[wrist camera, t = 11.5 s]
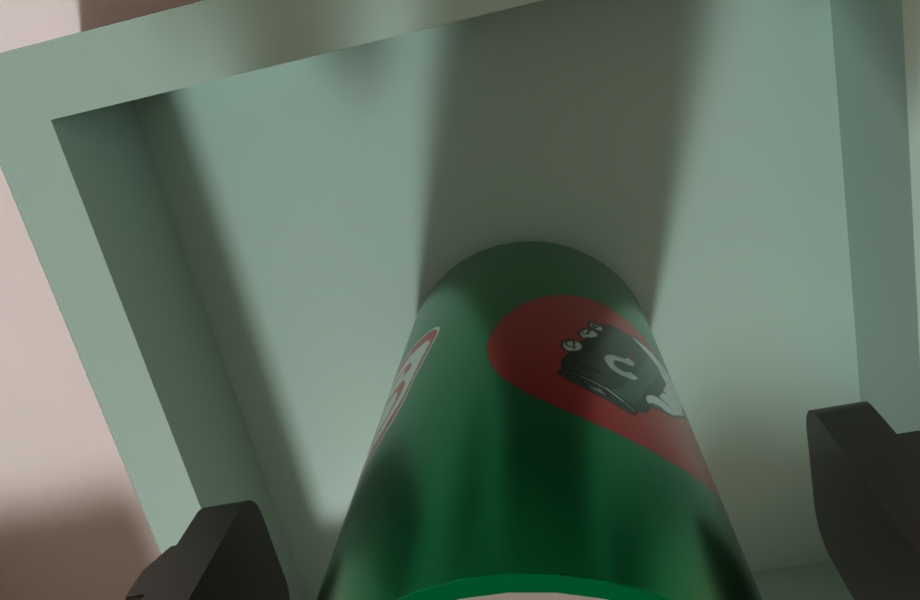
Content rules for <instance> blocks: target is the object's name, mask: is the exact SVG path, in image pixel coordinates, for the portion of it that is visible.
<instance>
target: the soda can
mask: <svg viewBox="0 0 920 600" xmlns="http://www.w3.org/2000/svg"><path fill="white" fill-rule="evenodd" d="M316 600H763V599H762V597H761V595H760V592H759V590H758V587H757V585H756V583H755V580H754V578H753V575H752V573H751V570H750V568H749V566H748V563H747V561H746V558H745V556H744V554H743V551H742V549H741V546H740V544H739V541H738V539H737V537H736V534H735V532H734V529H733V527H732V525H731V522H730V520H729V517H728V515H727V512H726V510H725V508H724V505H723V503H722V500H721V498H720V496H719V493H718V491H717V488H716V486H715V483H714V481H713V479H712V476H711V474H710V471H709V469H708V467H707V464H706V462H705V459H704V457H703V455H702V452H701V450H700V447H699V445H698V442H697V440H696V438H695V435H694V433H693V430H692V428H691V426H690V423H689V421H688V418H687V416H686V413H685V411H684V409H683V406H682V404H681V401H680V399H679V397H678V394H677V392H676V389H675V387H674V384H673V382H672V380H671V377H670V375H669V372H668V370H667V368H666V365H665V363H664V360H663V358H662V355H661V353H660V351H659V348H658V346H657V343H656V341H655V339H654V336H653V334H652V331H651V329H650V326H649V324H648V322H647V319H646V317H645V314H644V312H643V310H642V308H641V306H640V304H639V303H638V301H637V299H636V297H635V295H634V294H633V293H632V291H631V290H630V289H629V287H628V286H627V285H626V284H625V282H624V281H623V280H622V279H621V278H620V277H619V276H618V275H617V274H616V273H614V272H613V271H612V270H611V269H610V268H609V267H607V266H606V265H604V264H603V263H601V262H600V261H598V260H597V259H595V258H594V257H592V256H590V255H588V254H585V253H583V252H581V251H579V250H577V249H574V248H570V247H567V246H563V245H559V244H556V243H548V242H539V241H526V242H513V243H507V244H502V245H497V246H494V247H491V248H488V249H486V250H483V251H480V252H477V253H476V254H474V255H472V256H470V257H468V258H466V259H465V260H463V261H461V262H460V263H458V264H457V265H456V266H454V267H453V268H452V269H451V270H449V271H448V272H447V273H446V274H445V275H444V276H443V277H442V278H441V279H440V280H439V281H438V282H437V283H436V284H435V285H434V286H433V288H432V289H431V291H430V292H429V294H428V295H427V297H426V298H425V300H424V301H423V303H422V306H421V308H420V310H419V312H418V314H417V317H416V319H415V322H414V325H413V328H412V330H411V333H410V336H409V339H408V342H407V345H406V347H405V350H404V353H403V356H402V359H401V362H400V364H399V367H398V370H397V373H396V376H395V379H394V381H393V384H392V387H391V390H390V393H389V395H388V398H387V401H386V404H385V407H384V410H383V412H382V415H381V418H380V421H379V424H378V427H377V429H376V432H375V435H374V438H373V441H372V444H371V446H370V449H369V452H368V455H367V458H366V460H365V463H364V466H363V469H362V472H361V475H360V477H359V480H358V483H357V486H356V489H355V492H354V494H353V497H352V500H351V503H350V506H349V509H348V511H347V514H346V517H345V520H344V523H343V525H342V528H341V531H340V534H339V537H338V540H337V542H336V545H335V548H334V551H333V554H332V557H331V559H330V562H329V565H328V568H327V571H326V574H325V576H324V579H323V582H322V585H321V588H320V590H319V593H318V596H317V599H316Z"/></svg>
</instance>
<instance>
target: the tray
mask: <svg viewBox="0 0 920 600" xmlns="http://www.w3.org/2000/svg"><path fill="white" fill-rule="evenodd" d="M0 166H1V169H2V171H3V174H4V176H5V178H6V181H7V183H8V186H9V188H10V191H11V193H12V195H13V198H14V200H15V203H16V205H17V207H18V210H19V212H20V215H21V217H22V220H23V222H24V224H25V227H26V229H27V232H28V234H29V236H30V239H31V241H32V244H33V246H34V248H35V251H36V253H37V256H38V258H39V261H40V263H41V265H42V268H43V270H44V273H45V275H46V277H47V280H48V282H49V285H50V287H51V290H52V292H53V294H54V297H55V299H56V302H57V304H58V306H59V309H60V311H61V314H62V316H63V318H64V321H65V323H66V326H67V328H68V331H69V333H70V335H71V338H72V340H73V343H74V345H75V347H76V350H77V352H78V355H79V357H80V360H81V362H82V364H83V367H84V369H85V372H86V374H87V376H88V379H89V381H90V384H91V386H92V389H93V391H94V393H95V396H96V398H97V401H98V403H99V405H100V408H101V410H102V413H103V415H104V417H105V420H106V422H107V425H108V427H109V430H110V432H111V434H112V437H113V439H114V442H115V444H116V446H117V449H118V451H119V454H120V456H121V459H122V461H123V463H124V466H125V468H126V471H127V473H128V475H129V478H130V480H131V483H132V485H133V487H134V490H135V492H136V495H137V497H138V500H139V502H140V504H141V507H142V509H143V512H144V514H145V516H146V519H147V521H148V524H149V526H150V529H151V531H152V533H153V536H154V538H155V541H156V543H157V545H158V548H159V550H160V553H161V555H162V554H163V553H164V552H165V551H166V550H167V549H168V548H169V547H171V546H175V545H177V543H178V542H179V540H180V539H181V537H182V536H183V534H184V532H185V531H186V529H187V528H188V526H189V525H190V523H191V522H192V520H193V518H194V517H195V515H196V514H197V513H198V511H199V510H200V509H202V508H204V507H210V506H216V505H222V504H228V503H234V502H240V501H246V500H251V501H254V502H255V503H256V504H257V505H258V507H259V509H260V510H261V513H262V515H263V518H264V521H265V523H266V526H267V529H268V532H269V534H270V537H271V540H272V543H273V546H274V548H275V551H276V554H277V557H278V559H279V562H280V565H281V568H282V570H283V573H284V576H285V579H286V582H287V585H288V589H289V596H290V600H316V599H317V596H318V593H319V590H320V588H321V585H322V582H323V579H324V576H325V574H326V571H327V568H328V565H329V562H330V559H331V557H332V554H333V551H334V548H335V545H336V542H337V540H338V537H339V534H340V531H341V528H342V525H343V523H344V520H345V517H346V514H347V511H348V509H349V506H350V503H351V500H352V497H353V494H354V492H355V489H356V486H357V483H358V480H359V477H360V475H361V472H362V469H363V466H364V463H365V460H366V458H367V455H368V452H369V449H370V446H371V444H372V441H373V438H374V435H375V432H376V429H377V427H378V424H379V421H380V418H381V415H382V412H383V410H384V407H385V404H386V401H387V398H388V395H389V393H390V390H391V387H392V384H393V381H394V379H395V376H396V373H397V370H398V367H399V364H400V362H401V359H402V356H403V353H404V350H405V347H406V345H407V342H408V339H409V336H410V333H411V330H412V328H413V325H414V322H415V319H416V317H417V314H418V312H419V310H420V308H421V306H422V303H423V301H424V300H425V298H426V297H427V295H428V294H429V292H430V291H431V289H432V288H433V286H434V285H435V284H436V283H437V282H438V281H439V280H440V279H441V278H442V277H443V276H444V275H445V274H446V273H447V272H448V271H449V270H451V269H452V268H453V267H454V266H456V265H457V264H458V263H460V262H461V261H463V260H465V259H466V258H468V257H470V256H472V255H474V254H476V253H477V252H480V251H483V250H486V249H488V248H491V247H494V246H497V245H502V244H507V243H513V242H526V241H539V242H548V243H556V244H559V245H563V246H567V247H570V248H574V249H577V250H579V251H581V252H583V253H585V254H588V255H590V256H592V257H594V258H595V259H597V260H598V261H600V262H601V263H603V264H604V265H606V266H607V267H609V268H610V269H611V270H612V271H613V272H614V273H616V274H617V275H618V276H619V277H620V278H621V279H622V280H623V281H624V282H625V284H626V285H627V286H628V287H629V289H630V290H631V291H632V293H633V294H634V295H635V297H636V299H637V301H638V303H639V304H640V306H641V308H642V310H643V312H644V314H645V317H646V319H647V322H648V324H649V326H650V329H651V331H652V334H653V336H654V339H655V341H656V343H657V346H658V348H659V351H660V353H661V355H662V358H663V360H664V363H665V365H666V368H667V370H668V372H669V375H670V377H671V380H672V382H673V384H674V387H675V389H676V392H677V394H678V397H679V399H680V401H681V404H682V406H683V409H684V411H685V413H686V416H687V418H688V421H689V423H690V426H691V428H692V430H693V433H694V435H695V438H696V440H697V442H698V445H699V447H700V450H701V452H702V455H703V457H704V459H705V462H706V464H707V467H708V469H709V471H710V474H711V476H712V479H713V481H714V483H715V486H716V488H717V491H718V493H719V496H720V498H721V500H722V503H723V505H724V508H725V510H726V512H727V515H728V517H729V520H730V522H731V525H732V527H733V529H734V532H735V534H736V537H737V539H738V541H739V544H740V546H741V549H742V551H743V554H744V556H745V558H746V561H747V563H748V566H749V568H750V570H751V573H752V575H753V578H754V580H755V583H756V585H757V587H758V590H759V592H760V595H761V597H762V599H763V600H854V599H853V597H852V595H851V593H850V592H849V590H848V588H847V586H846V585H845V583H844V581H843V579H842V577H841V576H840V574H839V572H838V570H837V568H836V567H835V565H834V563H833V561H832V560H831V558H830V556H829V554H828V552H827V550H826V547H825V545H824V542H823V540H822V537H821V534H820V530H819V527H818V523H817V518H816V513H815V507H814V498H813V488H812V478H811V468H810V458H809V448H808V439H807V429H806V416H807V412H808V411H809V410H813V409H819V408H825V407H832V406H838V405H844V404H850V403H856V402H862V401H867V402H869V403H870V404H871V405H872V406H873V407H874V408H875V410H876V411H877V412H878V413H879V414H880V415H881V416H882V418H883V419H884V420H885V421H886V422H887V423H888V424H889V426H890V427H891V428H892V429H893V430H894V431H895V432H896V433H897V434H900V433H906V432H913V431H920V0H203V1H199V2H195V3H191V4H188V5H184V6H180V7H176V8H172V9H168V10H164V11H161V12H157V13H153V14H149V15H145V16H141V17H137V18H134V19H130V20H126V21H122V22H118V23H114V24H110V25H107V26H103V27H99V28H95V29H91V30H87V31H83V32H80V33H76V34H72V35H68V36H64V37H60V38H56V39H53V40H49V41H45V42H41V43H37V44H33V45H29V46H26V47H22V48H18V49H14V50H10V51H6V52H2V53H0Z"/></svg>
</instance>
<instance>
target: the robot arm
mask: <svg viewBox="0 0 920 600" xmlns="http://www.w3.org/2000/svg"><path fill="white" fill-rule="evenodd" d="M806 429H807V439H808V448H809V458H810V468H811V478H812V488H813V498H814V507H815V513H816V518H817V523H818V527H819V530H820V534H821V537H822V540H823V542H824V545H825V547H826V550H827V552H828V554H829V556H830V558H831V560H832V561H833V563H834V565H835V567H836V568H837V570H838V572H839V574H840V576H841V577H842V579H843V581H844V583H845V585H846V586H847V588H848V590H849V592H850V593H851V595H852V597H853V599H854V600H920V431H913V432H906V433H900V434H897V433H896V432H895V431H894V430H893V429H892V428H891V427H890V426H889V424H888V423H887V422H886V421H885V420H884V419H883V418H882V416H881V415H880V414H879V413H878V412H877V411H876V410H875V408H874V407H873V406H872V405H871V404H870V403H869V402H867V401H862V402H856V403H850V404H844V405H838V406H832V407H825V408H819V409H813V410H809V411H808V412H807V416H806ZM125 598H126V600H290V596H289V589H288V585H287V582H286V579H285V576H284V573H283V570H282V568H281V565H280V562H279V559H278V557H277V554H276V551H275V548H274V546H273V543H272V540H271V537H270V534H269V532H268V529H267V526H266V523H265V521H264V518H263V515H262V513H261V510H260V509H259V507H258V505H257V504H256V503H255V502H254V501H251V500H246V501H240V502H234V503H228V504H222V505H216V506H210V507H204V508H202V509H200V510H199V511H198V513H197V514H196V515H195V517H194V518H193V520H192V522H191V523H190V525H189V526H188V528H187V529H186V531H185V532H184V534H183V536H182V537H181V539H180V540H179V542H178V543H177V545H175V546H171V547H169V548H168V549H167V550H166V551H165V552H164V553H163V554H162V555H160V556H159V557H158V558H157V559H156V560H155V561H154V562H152V563H151V564H150V565H149V566H148V567H147V568H146V569H144V570H143V572H142V573H141V575H140V576H139V578H138V579H137V580H136V582H135V583H134V585H133V586H132V588H131V589H130V591H129V592H128V594H127V595H126V597H125Z"/></svg>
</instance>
